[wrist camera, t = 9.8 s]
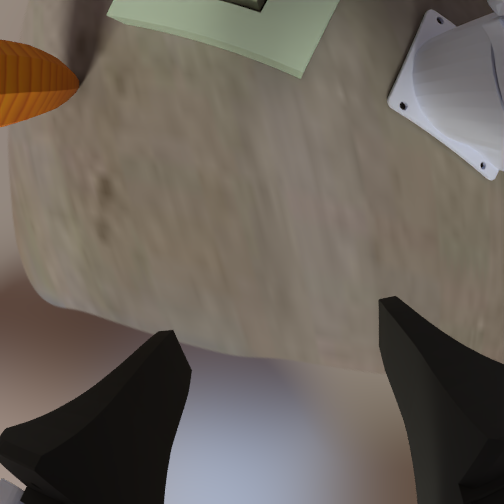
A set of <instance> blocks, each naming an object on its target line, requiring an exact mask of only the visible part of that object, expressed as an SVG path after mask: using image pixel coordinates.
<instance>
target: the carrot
mask: <svg viewBox="0 0 504 504" xmlns="http://www.w3.org/2000/svg"><path fill="white" fill-rule="evenodd" d="M78 88H79V80H78V78H77V77H76V75H75V74H74V73H73V72H72V71H71V70H70V69H69V68H68V67H67V66H66V65H64V64H63V63H62V62H61V61H60V60H59V59H58V58H56V57H54V56H52V55H50V54H48V53H46V52H44V51H42V50H40V49H37V48H35V47H32V46H30V45H26V44H22V43H17V42H12V41H6V40H0V127H3V126H7V125H10V124H14V123H17V122H20V121H23V120H27V119H29V118H32V117H35V116H38V115H40V114H43V113H46V112H48V111H51V110H53V109H56V108H57V107H59V106H60V105H62V104H63V103H65V102H66V101H67V100H69V99H70V98H71V97H72V96H73V95H74V94H75V93H76V91H77V90H78Z"/></svg>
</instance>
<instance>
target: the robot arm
mask: <svg viewBox="0 0 504 504" xmlns="http://www.w3.org/2000/svg"><path fill="white" fill-rule="evenodd" d="M487 2H488V4H489V6H490V7H491V8H492V10H493V11H494V12H493V13H490V14H488V15H485V16H482V17H480V18H477V19H475V20H472V21H470V22H467V23H465V24H462V25H460V26H458V27H457V26H455V25H454V24H453V23H452V22H450V21H449V20H447V19H446V18H445V17H443V16H442V15H440V14H439V13H438V12H436V11H434V10H431V9H430V10H428V11H426V13H425V15H424V17H423V19H422V22H421V24H420V27H419V29H418V31H417V34H416V36H415V38H414V41H413V43H412V45H411V47H410V50H409V52H408V54H407V57H406V59H405V61H404V63H403V65H402V68H401V70H400V72H399V74H398V77H397V79H396V81H395V83H394V85H393V87H392V90H391V92H390V94H389V96H388V99H387V103H388V105H389V107H390V108H391V109H393V110H395V111H396V112H398V113H399V114H401V115H403V116H404V117H406V118H407V119H409V120H410V121H412V122H413V123H415V124H416V125H418V126H419V127H421V128H422V129H424V130H425V131H427V132H428V133H429V134H431V135H432V136H434V137H435V138H436V139H438V140H439V141H440V142H442V143H443V144H445V145H446V146H447V147H449V148H450V149H451V150H452V151H454V152H455V153H456V154H458V155H459V156H460V157H461V158H463V159H464V160H465V161H466V162H468V163H469V164H470V165H471V166H473V167H474V168H475V169H476V170H477V171H478V172H480V173H481V174H482V175H483V176H484V177H485V178H487V179H489V180H494V179H495V178H496V176H497V173H498V171H499V170H501V171H503V172H504V0H487ZM437 19H439V20H440V21H441V24H440V23H438V21H437ZM401 102H403V103H404V104H405V109H404V110H402V109H401V108H400V103H401ZM482 162H483V167H482V168H481V166H480V165H481V163H482ZM379 348H380V352H381V356H382V360H383V364H384V368H385V371H386V374H387V377H388V379H389V382H390V385H391V387H392V390H393V392H394V395H395V398H396V401H397V403H398V406H399V409H400V411H401V415H402V417H403V420H404V423H405V427H406V431H407V435H408V440H409V445H410V450H411V456H412V461H413V468H414V475H415V482H416V491H417V502H418V504H504V364H502V363H499V362H497V361H495V360H492V359H490V358H488V357H486V356H483V355H481V354H479V353H478V352H476V351H474V350H472V349H470V348H468V347H466V346H465V345H463V344H461V343H459V342H458V341H456V340H455V339H453V338H452V337H450V336H448V335H447V334H445V333H444V332H442V331H441V330H440V329H438V328H437V327H435V326H434V325H432V324H431V323H430V322H428V321H427V320H426V319H424V318H423V317H422V316H421V315H419V314H418V313H417V312H415V311H414V310H413V309H412V308H410V307H409V306H408V305H407V304H405V303H404V302H403V301H402V300H400V299H399V298H398V297H396V296H393V297H388V298H383V299H379ZM191 372H192V370H191V368H190V366H189V364H188V361H187V360H186V357H185V355H184V353H183V351H182V349H181V346H180V344H179V342H178V340H177V337H176V335H175V333H174V331H173V330H168V331H159V332H157V333H156V334H155V335H153V336H152V337H151V338H150V339H148V341H146V342H145V343H144V344H143V345H142V346H140V347H139V349H137V350H136V351H135V352H134V353H133V354H132V355H130V356H129V357H128V358H127V359H126V360H125V361H124V362H123V363H121V364H120V365H119V366H118V367H117V368H116V369H114V370H113V371H112V372H111V373H110V374H108V375H107V376H106V377H105V378H104V379H102V380H101V381H100V382H98V383H97V384H96V385H94V386H93V387H92V388H90V389H89V390H87V391H86V392H84V393H83V394H81V395H80V396H78V397H77V398H75V399H74V400H72V401H70V402H69V403H66V404H65V405H63V406H61V407H60V408H58V409H56V410H54V411H52V412H50V413H48V414H45V415H43V416H41V417H38V418H36V419H33V420H31V421H28V422H25V423H22V424H19V425H16V426H12V427H9V428H6V429H5V430H4V431H3V433H2V434H1V436H0V463H1V464H2V465H3V466H4V467H5V468H6V469H7V470H9V471H10V472H11V473H12V474H13V475H14V476H15V477H16V478H18V479H19V480H20V481H21V482H22V483H24V484H25V485H26V486H27V487H26V489H25V491H23V490H22V489H20V488H19V487H17V486H16V485H14V484H12V483H10V482H8V481H7V480H5V479H1V480H0V504H164V495H165V486H166V478H167V470H168V464H169V459H170V452H171V448H172V445H173V441H174V438H175V435H176V431H177V428H178V425H179V422H180V418H181V415H182V413H183V409H184V406H185V403H186V400H187V396H188V392H189V386H190V379H191Z"/></svg>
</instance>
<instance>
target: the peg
mask: <svg viewBox="0 0 504 504" xmlns="http://www.w3.org/2000/svg"><path fill="white" fill-rule="evenodd" d="M225 1H229V2H232V3H236V4H239V5H243V6H246V7H249V8H252V9H255V10H258V11H260V9H261V7H262V5H263V3H264V1H265V0H225Z"/></svg>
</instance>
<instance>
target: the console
mask: <svg viewBox="0 0 504 504" xmlns="http://www.w3.org/2000/svg"><path fill="white" fill-rule="evenodd" d="M339 1H340V0H267V2H266V4H265V6H264V8H263V10H262V11H261V13H260V12H257V11H254V10H251V9H248V8H244V7H241V6H238V5H234V4H231V3H227V2H224V1H220V0H113V2H112V4H111V6H110V8H109V10H108V13H107V16H109V17H111V18H113V19H115V20H117V21H120V22H122V23H124V24H127V25H133V26H138V27H143V28H148V29H152V30H157V31H161V32H165V33H169V34H173V35H177V36H181V37H185V38H189V39H192V40H196V41H199V42H203V43H206V44H209V45H212V46H216V47H219V48H222V49H225V50H228V51H231V52H234V53H237V54H239V55H242V56H245V57H248V58H250V59H253V60H256V61H258V62H261V63H264V64H266V65H269V66H271V67H274V68H276V69H279V70H281V71H283V72H286V73H288V74H290V75H293V76H295V77H297V78H299V79H301V77H302V75H303V73H304V71H305V69H306V67H307V65H308V63H309V61H310V59H311V57H312V55H313V53H314V51H315V49H316V47H317V45H318V43H319V41H320V38H321V36H322V34H323V32H324V30H325V29H326V27H327V25H328V23H329V21H330V19H331V17H332V15H333V13H334V11H335V9H336V7H337V5H338V3H339Z"/></svg>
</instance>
